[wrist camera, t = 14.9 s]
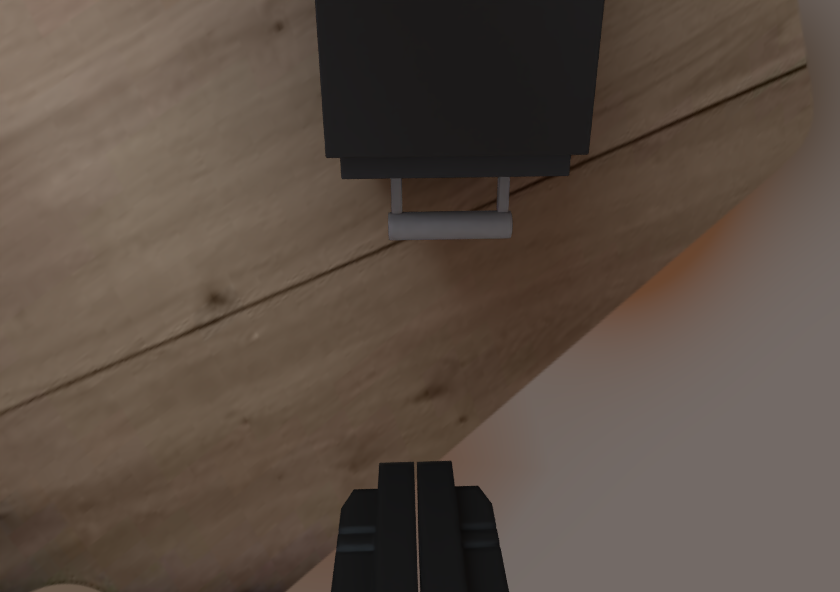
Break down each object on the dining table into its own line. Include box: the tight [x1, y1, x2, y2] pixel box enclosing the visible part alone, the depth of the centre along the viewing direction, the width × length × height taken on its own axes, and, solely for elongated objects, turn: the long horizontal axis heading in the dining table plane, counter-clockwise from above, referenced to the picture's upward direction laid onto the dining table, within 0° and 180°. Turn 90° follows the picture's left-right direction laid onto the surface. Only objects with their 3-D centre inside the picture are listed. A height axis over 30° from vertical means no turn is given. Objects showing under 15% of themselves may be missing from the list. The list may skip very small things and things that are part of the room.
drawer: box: [340, 155, 571, 240], centre depth 32 cm, size 18×11×8 cm, turn 0°
